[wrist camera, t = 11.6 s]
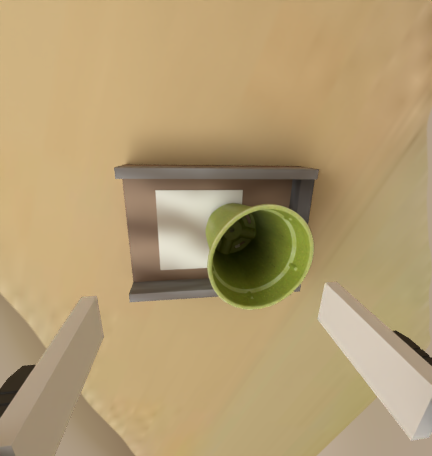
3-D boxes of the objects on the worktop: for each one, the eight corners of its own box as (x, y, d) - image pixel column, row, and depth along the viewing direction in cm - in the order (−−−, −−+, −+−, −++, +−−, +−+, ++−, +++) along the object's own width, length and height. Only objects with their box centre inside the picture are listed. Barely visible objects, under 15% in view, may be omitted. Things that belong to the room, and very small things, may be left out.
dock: (125, 164, 25) (114, 167, 21) (298, 166, 28) (318, 169, 24) (137, 280, 30) (129, 302, 26) (284, 272, 33) (299, 291, 29)
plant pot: (246, 170, 25) (289, 180, 17) (280, 236, 29) (328, 269, 21) (174, 218, 25) (184, 251, 17) (217, 278, 29) (242, 328, 21)
